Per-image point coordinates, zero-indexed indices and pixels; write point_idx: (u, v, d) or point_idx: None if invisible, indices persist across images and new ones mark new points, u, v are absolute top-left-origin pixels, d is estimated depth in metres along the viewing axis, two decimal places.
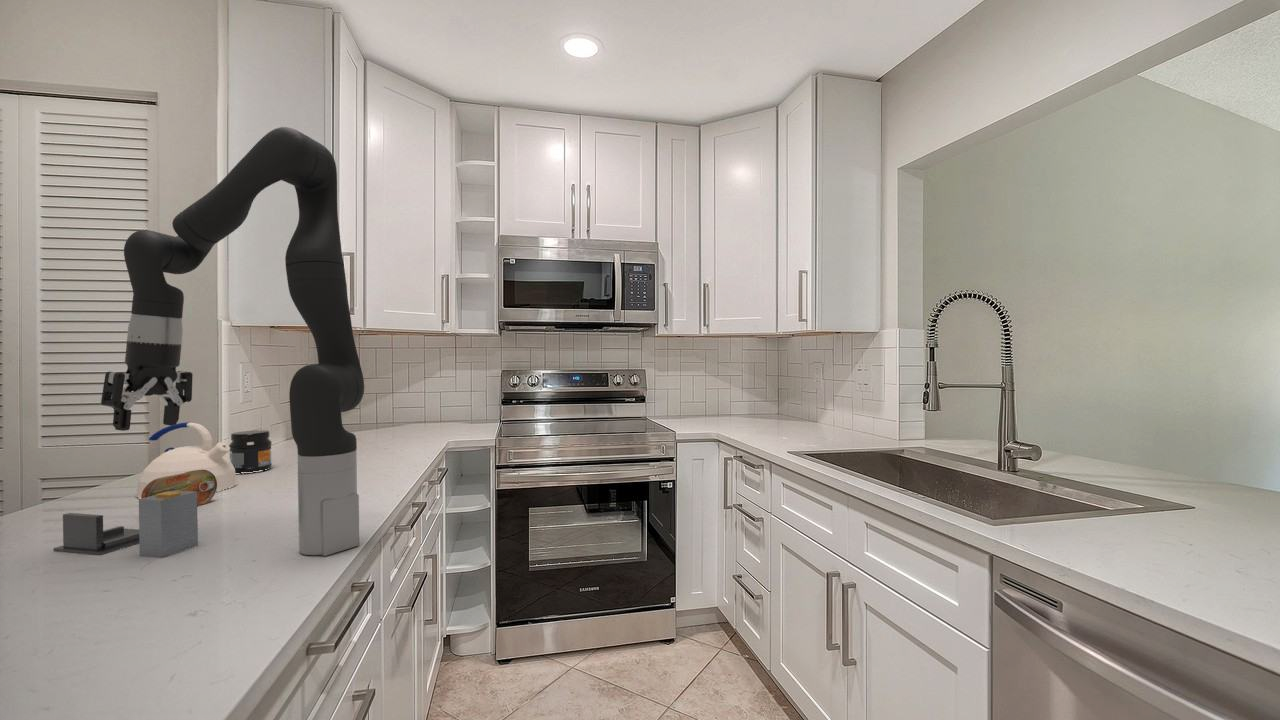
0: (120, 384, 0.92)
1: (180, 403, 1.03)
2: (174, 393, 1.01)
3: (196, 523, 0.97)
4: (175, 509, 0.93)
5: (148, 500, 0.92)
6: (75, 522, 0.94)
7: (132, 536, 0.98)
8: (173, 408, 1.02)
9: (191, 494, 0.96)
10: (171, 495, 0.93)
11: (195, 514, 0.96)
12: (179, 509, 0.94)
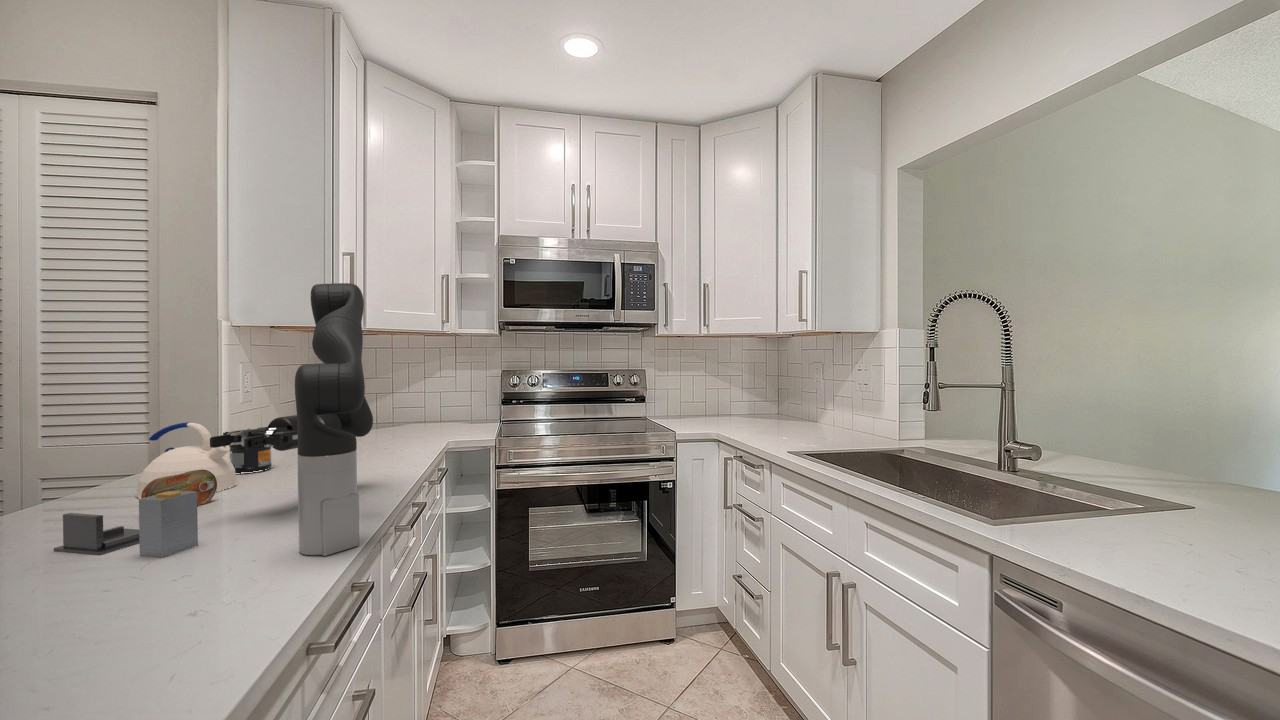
0: None
1: (267, 434, 1.08)
2: (269, 430, 1.11)
3: (196, 523, 0.97)
4: (175, 509, 0.93)
5: (148, 500, 0.92)
6: (75, 522, 0.94)
7: (132, 536, 0.98)
8: None
9: (191, 494, 0.96)
10: (171, 495, 0.93)
11: (195, 514, 0.96)
12: (179, 509, 0.94)
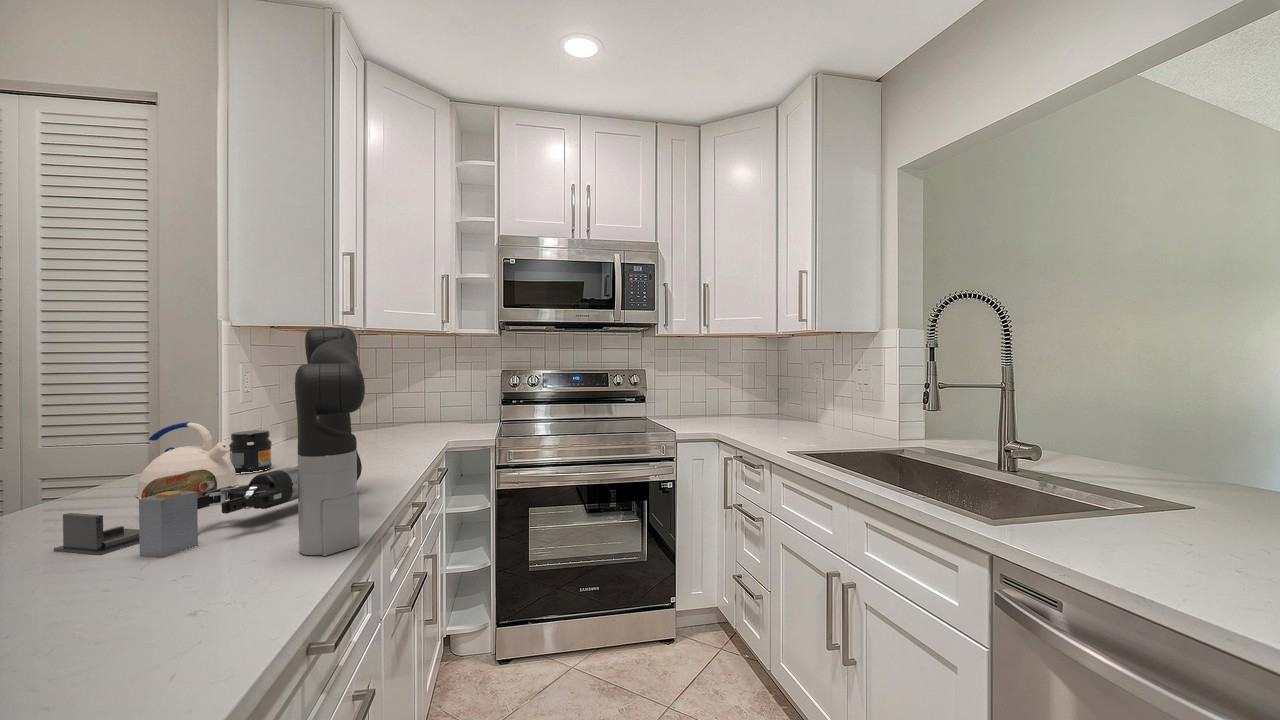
0: (222, 488, 1.10)
1: (247, 496, 1.04)
2: (249, 490, 1.06)
3: (196, 523, 0.97)
4: (175, 509, 0.93)
5: (148, 500, 0.92)
6: (75, 522, 0.94)
7: (132, 536, 0.98)
8: None
9: (191, 494, 0.96)
10: (171, 495, 0.93)
11: (195, 514, 0.96)
12: (179, 509, 0.94)
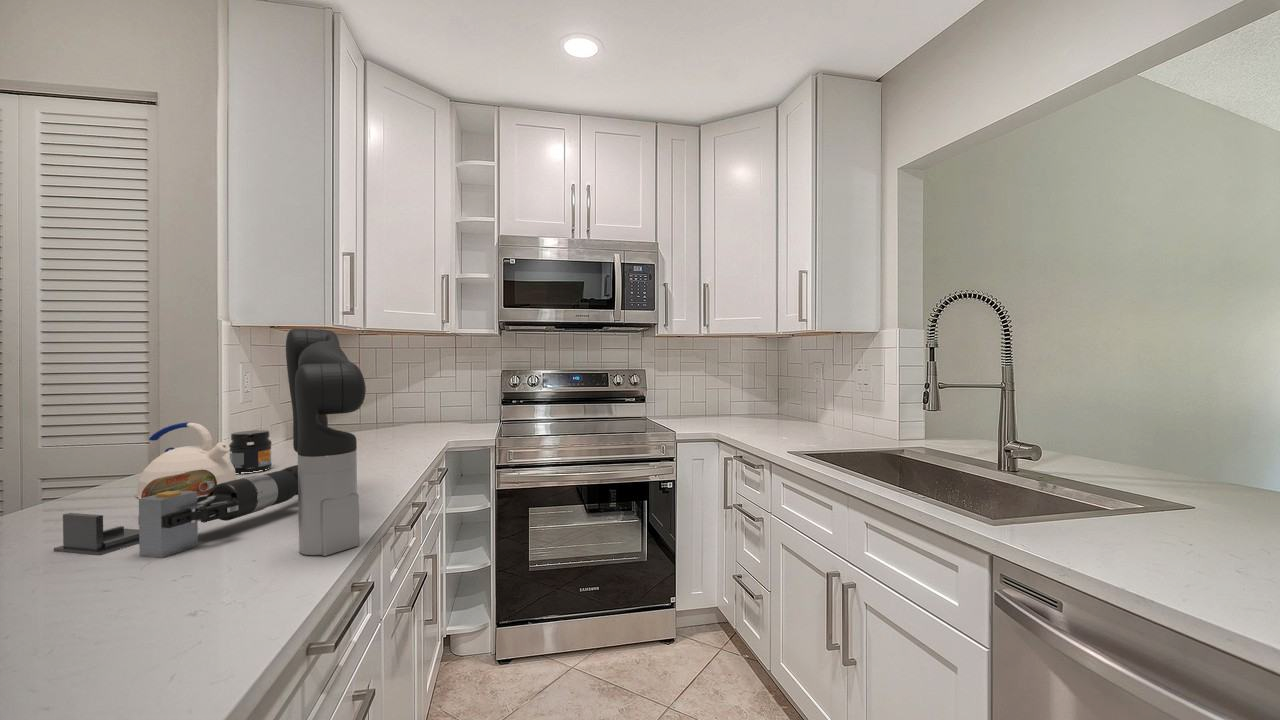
0: None
1: (193, 508, 0.95)
2: (202, 502, 0.98)
3: (196, 523, 0.97)
4: (175, 509, 0.93)
5: (148, 500, 0.92)
6: (75, 522, 0.94)
7: (132, 536, 0.98)
8: None
9: (191, 494, 0.96)
10: (171, 495, 0.93)
11: None
12: (179, 509, 0.94)
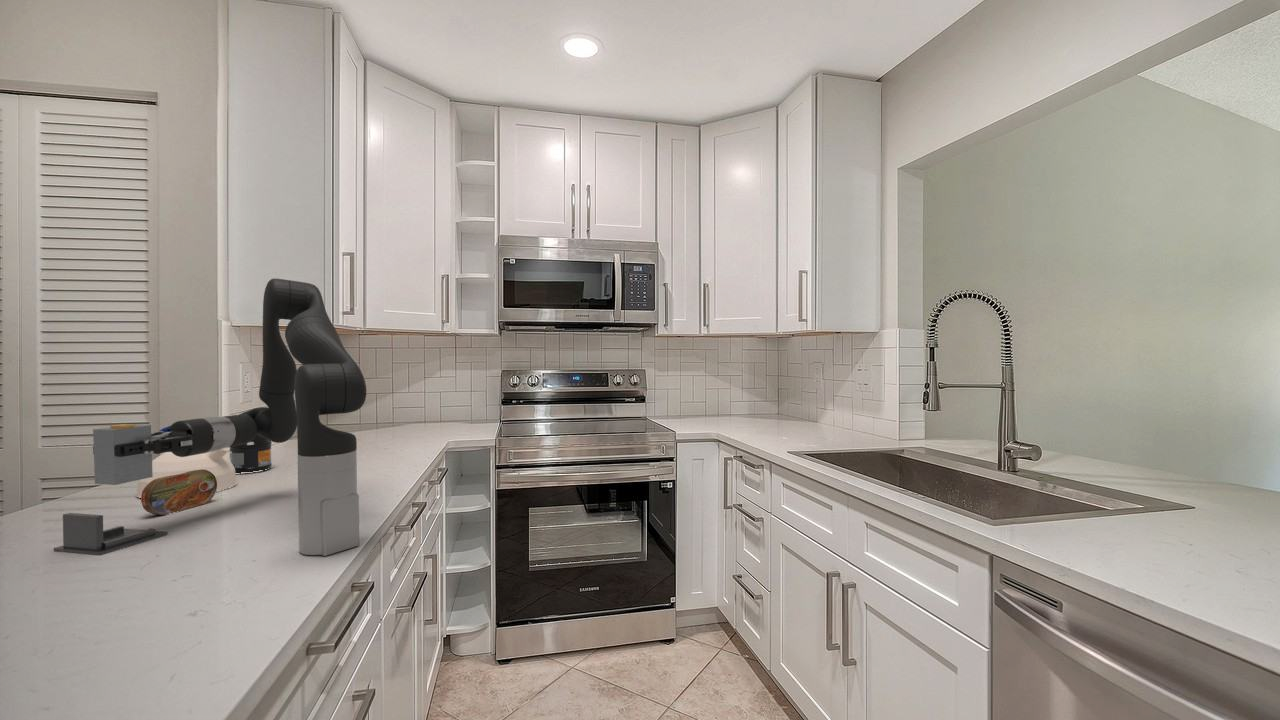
0: None
1: (146, 440, 0.99)
2: (156, 435, 1.02)
3: (150, 455, 1.01)
4: (128, 440, 0.97)
5: (102, 430, 0.96)
6: (75, 522, 0.94)
7: (132, 536, 0.98)
8: None
9: (145, 427, 1.00)
10: (124, 426, 0.98)
11: None
12: (132, 440, 0.98)
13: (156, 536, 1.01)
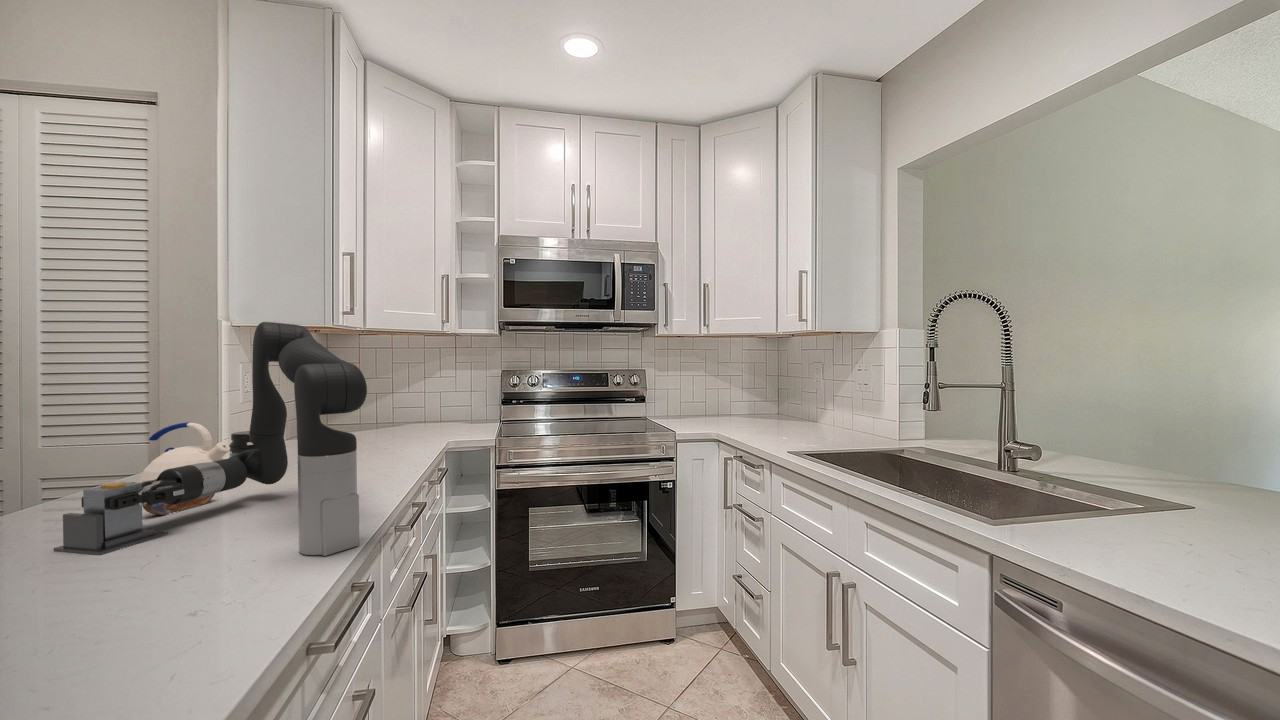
0: None
1: (139, 491, 1.00)
2: (148, 486, 1.03)
3: (141, 513, 1.01)
4: None
5: (92, 491, 0.96)
6: (75, 522, 0.94)
7: (132, 536, 0.98)
8: None
9: (135, 485, 1.01)
10: (115, 486, 0.98)
11: None
12: None
13: (156, 536, 1.01)
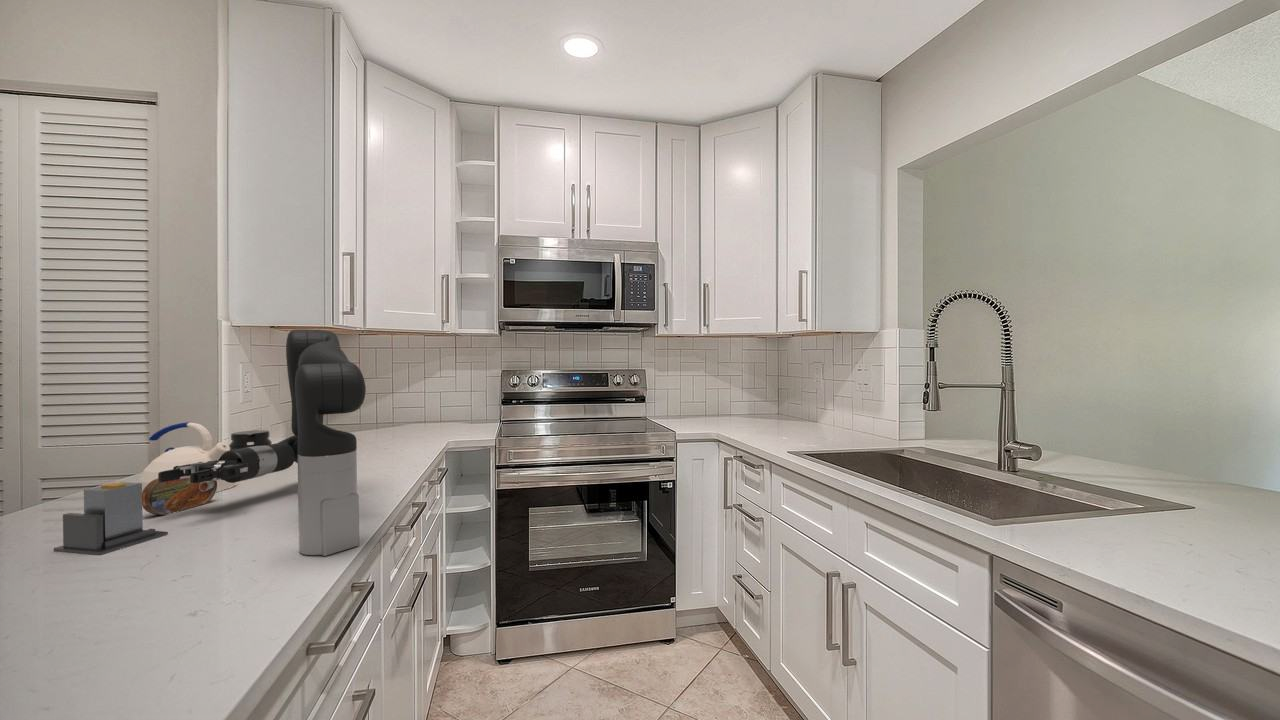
0: None
1: (214, 468, 1.13)
2: (217, 464, 1.15)
3: (141, 513, 1.01)
4: (119, 499, 0.98)
5: (92, 491, 0.96)
6: (75, 522, 0.94)
7: (132, 536, 0.98)
8: None
9: (136, 485, 1.01)
10: (115, 486, 0.98)
11: (140, 504, 1.01)
12: (123, 500, 0.99)
13: (156, 536, 1.01)
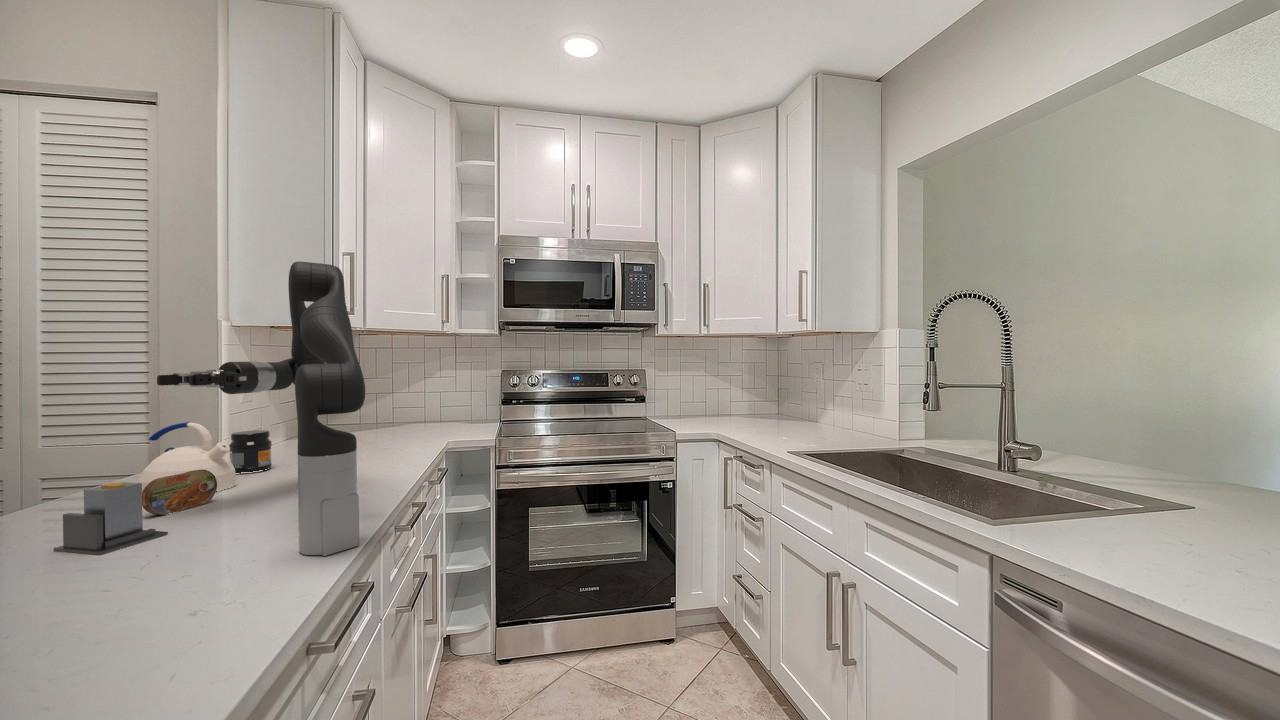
0: None
1: (213, 373, 1.13)
2: (216, 371, 1.15)
3: (141, 513, 1.01)
4: (119, 499, 0.98)
5: (92, 491, 0.96)
6: (75, 522, 0.94)
7: (132, 536, 0.98)
8: None
9: (136, 485, 1.01)
10: (115, 486, 0.98)
11: (140, 504, 1.01)
12: (123, 500, 0.99)
13: (156, 536, 1.01)
